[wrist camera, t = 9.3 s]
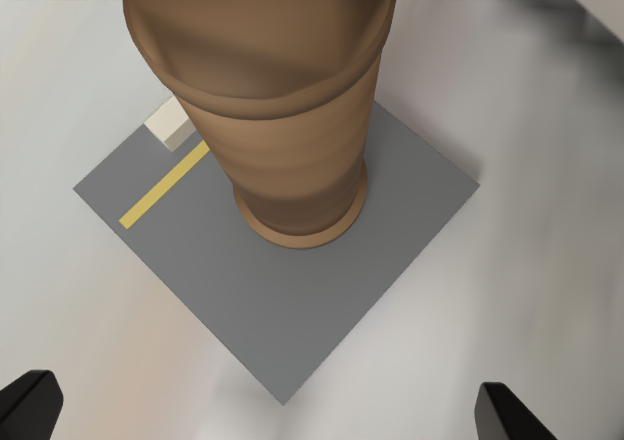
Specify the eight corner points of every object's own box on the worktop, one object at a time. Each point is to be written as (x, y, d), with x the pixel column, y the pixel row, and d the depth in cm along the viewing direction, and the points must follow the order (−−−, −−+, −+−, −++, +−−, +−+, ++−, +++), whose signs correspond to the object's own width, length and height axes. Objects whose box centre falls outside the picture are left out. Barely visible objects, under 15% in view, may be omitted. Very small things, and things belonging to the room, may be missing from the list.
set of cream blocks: (280, 50, 23) (278, 34, 22) (172, 152, 22) (163, 141, 20) (261, 34, 23) (257, 18, 22) (153, 134, 22) (143, 123, 21)
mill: (386, 221, 20) (467, 52, 8) (261, 269, 20) (154, 168, 8) (337, 109, 22) (344, -173, 10) (220, 152, 21) (76, -83, 9)
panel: (473, 192, 21) (481, 184, 20) (285, 402, 19) (282, 406, 18) (266, 25, 24) (263, 11, 23) (83, 195, 22) (71, 188, 21)
